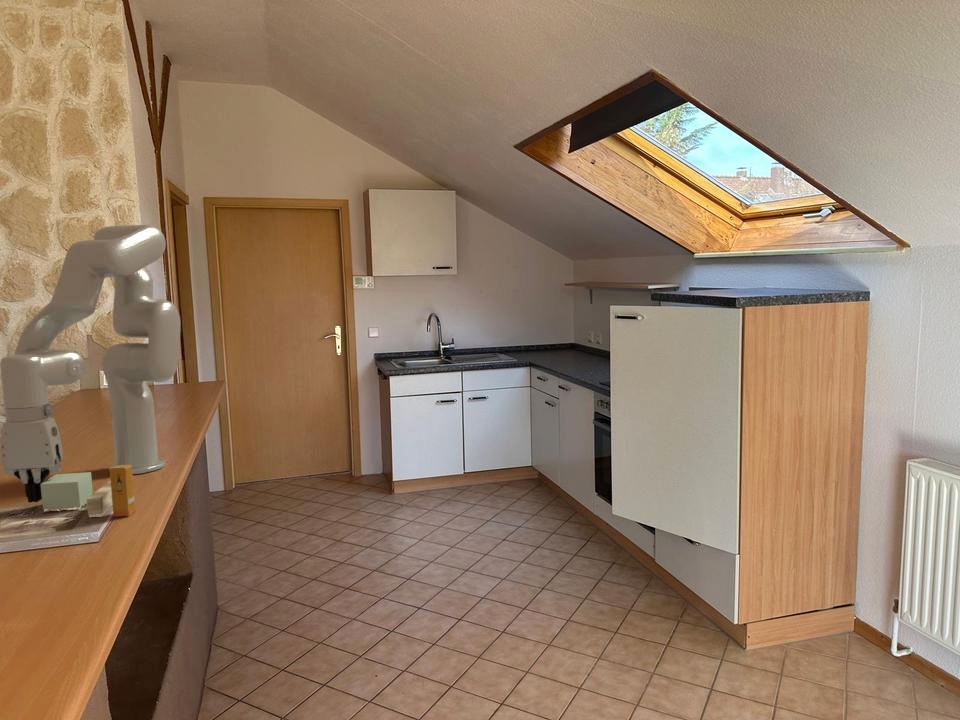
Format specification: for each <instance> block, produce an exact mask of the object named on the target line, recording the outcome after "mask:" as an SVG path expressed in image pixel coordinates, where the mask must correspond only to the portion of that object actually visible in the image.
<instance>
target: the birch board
mask: <svg viewBox="0 0 960 720" xmlns="http://www.w3.org/2000/svg"><path fill="white" fill-rule="evenodd" d="M111 505H112V492H111V480H109V481H108V482H106V483H105V484H104V485H102V487H100V488H99V489H98V490H96V491H95V492H93V494H92V495H91V496H90V497H88V498H87V505H86V507H87V515H96V514H102V513H103V512H104V511H105V510H106V509H107V508H109V507H110V506H111Z"/></svg>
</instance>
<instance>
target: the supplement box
mask: <svg viewBox="0 0 960 720" xmlns="http://www.w3.org/2000/svg"><path fill="white" fill-rule="evenodd" d="M109 479H110V480H111V492H112V505H113V508H112V515H113V517H115V518H117V517H130V516H131V515H133V514H135V513H136V511H137V509H136V500H135V499H136V498H135V490H134V474H132V465H116V466H113V467H111V468H110V472H109ZM110 480H109V481H110Z"/></svg>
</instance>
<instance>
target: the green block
mask: <svg viewBox="0 0 960 720" xmlns="http://www.w3.org/2000/svg"><path fill="white" fill-rule="evenodd" d="M92 481H93V478H92V472H90V471H89V472H87V471H86V472H73V473H72V472H71V473H58V474H57V473H56V474H54V475H53V476H51V477H49V478H48V479H47V480H46V479H45V480H44V482H43V483H42V484H41V494H42V499H41V501H42V502H41V503H42V510H43V509H60V508H74V507H81V506H82V505H84V504H85V503H86V502H87V498H88V497H90V496H91V495H92V494H93V493H94V491H93V490H94V489H93V482H92Z"/></svg>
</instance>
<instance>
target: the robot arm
mask: <svg viewBox="0 0 960 720" xmlns="http://www.w3.org/2000/svg"><path fill="white" fill-rule="evenodd" d="M166 246H167V245H166V238H165V235H164V233H163V232H162V231H161V230H160V229H159V228H158V227H156V226H155V225H151V224H136V225H135V224H134V225H131V224H130V225H110V226H105V227H102V228H99V229H98V230H97V231H96V232H95V233H94V235H93V239H91V240H90V239H89V240H80V241H76V242H73V243H72V244H71V245H70V246H69V248H68V249H67V251H66V254H65V257H64V261H63V264H62V267H61V269H60V272H59V273H60V274H59V277H58V280H57V282H56V285H55V289H54V292H53V295H52V297H51V300H50V301H49V303H47V304H46V305H45V306H43V308H41V310H40V311H39V312H38V313H37V314H36V315H35V316H34V317H33V318H32V319H31V321H29V323H28V324H27V325H26V326H25V327H24V328H23V331H22V332H21V334H20V336H19V339H18V342H17V345H16V349H15V351H14V354H11V355H6V356H4V357H2V359H0V377H1V387H2V395H3V397H2V398H3V407H4V416H5V417H4V418H5V421H4V422H3V423H2V429H1V433H0V458H1V465H2V467H3V468H4V469H3V474H4V475H8V476H13V477H14V476H15V477H16V478H17V479H19V480H20V481H21V483H22V485H24V489H25V497H26V498H27V502H28V503H38V502H40V501H42V494H41V484H42V483H43V482H45V481H46V479H47V478H48V477H49V476H50V474H55V473H57V472H60V471H62V470H63V466H62V463H61V462H62V461H63V460H64V451H63V445H62V440H61V439H62V438H61V435H60V432H59V431H60V430H59V428H58V425H57V421H56V419H55V418H54V417H51V415H55V414H56V411H57V410H56V407H51V406H50V403H49V398H48V397H49V396H48V388H47V387H48V386H60V385H61V386H65V385H71V384H74V383H76V382H78V381H79V380H81V378H82V377H84V375H85V373H86V370H87V364H86V361H85V359H84V358H83V356H82V355H81V354H79V353H78V352H75V351H73V350H68V349H53V348H52V349H50V348H51V346H52V344H53V342H54V341H55V339H56V338H57V337H58V335H60V334H61V333H62V332H64V331H65V330H66V329H67V328H70V327H71V326H73V325H75V324H76V323H79V322H81V321H83V320H85V319H86V318H89V317H91V316H92V315H93V314H94V313H95V310H96V308H97V305H98V304H97V303H98V301H99V299H100V298H99V297H100V294H101V291H102V287H103V283H104V281H105V279H106V278H114V297H113V310H112V326H113V330H114V332H115V333H116V334H117V335H118V336H121V337H124V338H135V339H137V338H138V339H144V338H145V339H148V341H147V343H144V342H143V343H142V342H123V343H116V344H114V345H112V346H110V347H109V348H107V349H106V350H105V351H104V353H103V355H102V359H101V365H102V366H101V368H102V372H103V375H104V377H105V381H106V384H107V389H108V394H109V403H110V413H111V414H110V415H111V425H112V426H111V427H112V436H113V437H112V438H113V448H114V458H115V459H114V460H115V462H114V463H112V464H111V465H110V466H109V467H108V471H109V473H110V468H111V467H113V466H116V465H132V475H138V474H139V475H140V474H144V473H145V474H146V473H149V472H154V471H156V470H159V469H162V468H163V467H164V466H165V465H166V460H165V459H164V458H162V457H159V456H158V443H157V431H156V430H157V429H156V419H155V403H154V395H153V392H152V391H151V389H150V387H149V385H148V384H147V383H164V382H167V381H170V380H171V379H172V378H173V377H174V376H175V374H176V372H177V370H178V369H177V368H178V364H179V353H180V340H181V316H180V313H179V310H178V309H177V306H176V305H175V304H174V303H173V302H171V301H169V300H167V299H159V298H156V299H155V298H154V283H153V282H154V280H153V277H152V275H151V272H150V270H149V269H148V266H149V265H151V264H153V263H155V262H156V261H158V260H159V259H160V258H161V257H163V255H164V253H165V250H166ZM33 470H34V471H33Z"/></svg>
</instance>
